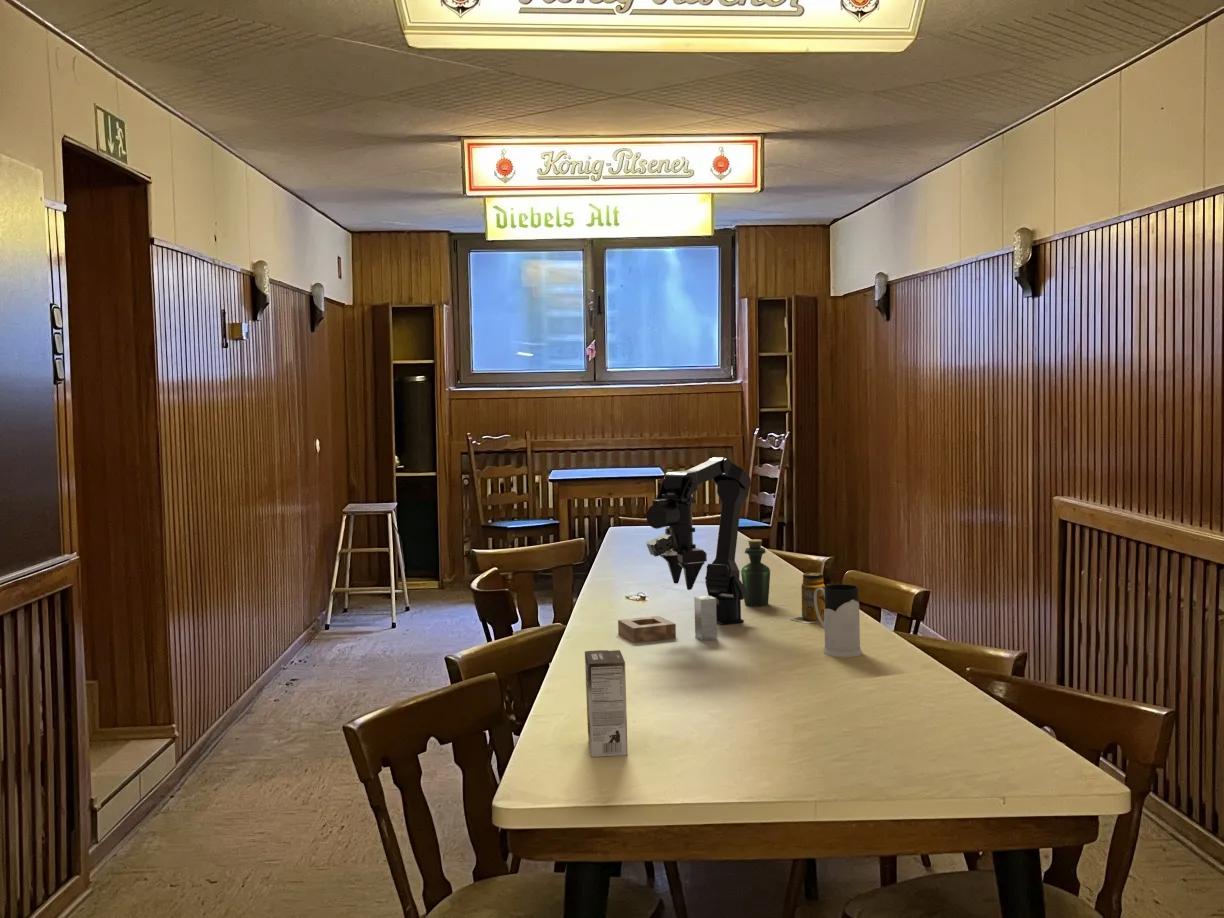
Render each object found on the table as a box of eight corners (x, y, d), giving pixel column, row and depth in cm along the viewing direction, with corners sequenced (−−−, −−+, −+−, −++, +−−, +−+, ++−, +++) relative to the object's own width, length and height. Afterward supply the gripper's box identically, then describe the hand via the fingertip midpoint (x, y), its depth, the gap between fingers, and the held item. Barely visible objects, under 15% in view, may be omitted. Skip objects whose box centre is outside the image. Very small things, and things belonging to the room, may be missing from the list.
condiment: (832, 619, 294) (831, 573, 293) (808, 624, 289) (807, 577, 289) (813, 615, 300) (812, 570, 299) (789, 619, 296) (788, 574, 295)
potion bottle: (770, 601, 321) (769, 538, 320) (771, 607, 313) (770, 542, 312) (741, 601, 322) (740, 538, 321) (742, 607, 314) (740, 542, 313)
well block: (659, 629, 289) (658, 615, 288) (675, 637, 278) (675, 623, 278) (618, 633, 285) (618, 619, 285) (634, 642, 275) (633, 628, 274)
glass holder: (839, 659, 252) (838, 592, 251) (800, 646, 265) (799, 583, 264) (870, 653, 256) (869, 587, 255) (830, 642, 269) (829, 579, 268)
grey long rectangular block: (710, 635, 280) (709, 595, 279) (717, 638, 276) (716, 598, 275) (695, 637, 278) (694, 597, 278) (701, 640, 275) (700, 599, 274)
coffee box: (587, 741, 199) (584, 650, 198) (623, 739, 200) (620, 648, 199) (590, 757, 190) (587, 663, 189) (628, 755, 191) (625, 661, 190)
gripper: (637, 521, 284) (639, 583, 285) (662, 530, 266) (664, 596, 268) (678, 518, 288) (680, 579, 289) (706, 526, 270) (708, 591, 271)
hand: (682, 586), depth 279 cm, fingers open, 9 cm apart
